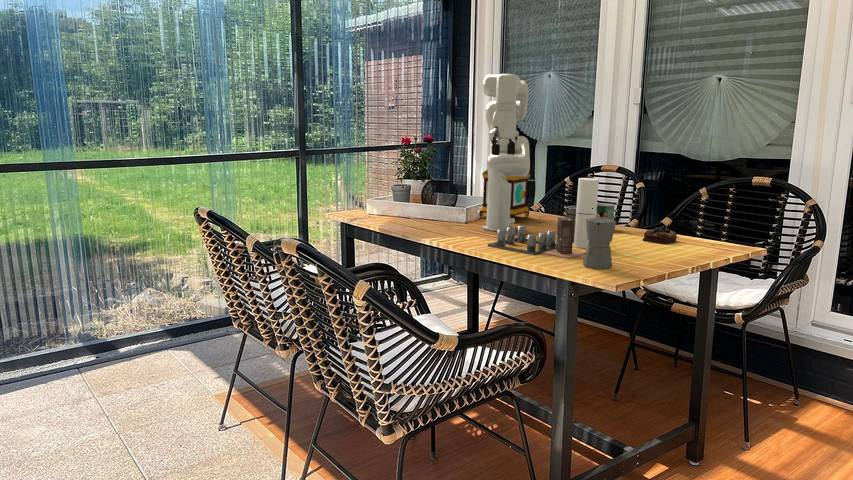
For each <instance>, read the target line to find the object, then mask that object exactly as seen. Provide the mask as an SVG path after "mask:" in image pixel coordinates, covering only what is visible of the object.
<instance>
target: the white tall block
mask: <svg viewBox="0 0 853 480" xmlns="http://www.w3.org/2000/svg"><path fill="white" fill-rule="evenodd" d="M577 184H578V185H577V196H576V210H575V211H576V212H575V221H574V222H575V225H574V235H573V247H574V248H579V249H587V246H588V243H589V240H588V239H587V228H586V219H590V218H595V217H596V209H597V203H598V194H599V184H600V181H599V178H592V177H579V178H578V183H577ZM592 208H593V209H592Z"/></svg>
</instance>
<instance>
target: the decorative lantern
mask: <svg viewBox="0 0 853 480" xmlns="http://www.w3.org/2000/svg"><path fill="white" fill-rule="evenodd" d="M481 176H482V178H483V194H482V195H483V197H482V206H481V208H480V209H479V215H478V216H479V218H480V219H483V218H484V213H485V214H487V199H488V170H487V169H486V170H485V171H483V172H482V173H481ZM530 176H531V173H530V172H529V173H528V175H526V176H524V177H505V179H506V180H507V181H508V183H509V184H510V186H511V200H510V219H511V218H514V219H515V216H519V215H523V214H524V217H525V218H526V219H528V218H529V217H530V210H529V207H528V204H527V203H528V202H527V201H528V186H529V185H528V183H529V182H528V181H529V179H530V178H531V177H530Z"/></svg>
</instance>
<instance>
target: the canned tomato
mask: <svg viewBox="0 0 853 480" xmlns="http://www.w3.org/2000/svg"><path fill="white" fill-rule="evenodd" d="M599 211H603V212H604V215H603V216H606V218H608V219H612V220H614V218H615V204H614V203H608V202H607V203H606V202H597V209H596V217H600V216H599Z"/></svg>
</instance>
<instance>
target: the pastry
mask: <svg viewBox="0 0 853 480" xmlns="http://www.w3.org/2000/svg"><path fill="white" fill-rule="evenodd" d="M677 238H678V235H677V233H676V232H675V231H672V230H671V229H670V228H665V226H660V227H655V228H653V229H649V230H645V231H644V235H643V238H642V241H643V242H648V243H654V244H659V245H660V244H661V245H669V244H670V245H671V244H672V243H675V242H676V241H677Z"/></svg>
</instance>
